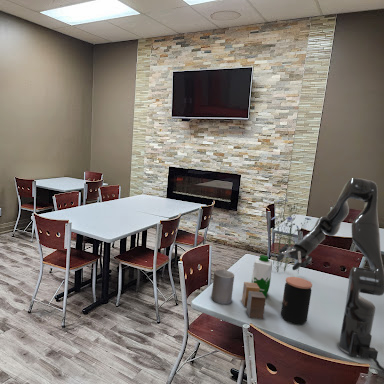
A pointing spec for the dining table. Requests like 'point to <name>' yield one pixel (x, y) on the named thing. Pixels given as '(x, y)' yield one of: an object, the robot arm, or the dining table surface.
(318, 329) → the dining table surface
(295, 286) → the coffee jar
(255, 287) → the oak block
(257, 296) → the walnut block
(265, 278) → the milk carton
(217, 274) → the pillar candle
